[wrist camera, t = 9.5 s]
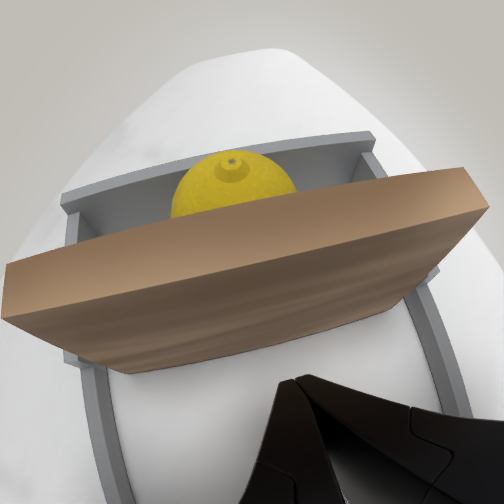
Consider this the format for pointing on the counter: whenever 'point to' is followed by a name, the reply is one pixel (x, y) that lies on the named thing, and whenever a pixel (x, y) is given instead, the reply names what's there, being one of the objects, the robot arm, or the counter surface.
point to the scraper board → (242, 271)
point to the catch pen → (159, 209)
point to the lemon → (229, 182)
